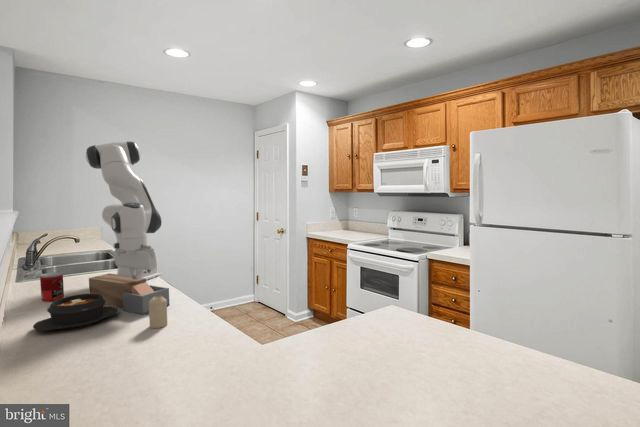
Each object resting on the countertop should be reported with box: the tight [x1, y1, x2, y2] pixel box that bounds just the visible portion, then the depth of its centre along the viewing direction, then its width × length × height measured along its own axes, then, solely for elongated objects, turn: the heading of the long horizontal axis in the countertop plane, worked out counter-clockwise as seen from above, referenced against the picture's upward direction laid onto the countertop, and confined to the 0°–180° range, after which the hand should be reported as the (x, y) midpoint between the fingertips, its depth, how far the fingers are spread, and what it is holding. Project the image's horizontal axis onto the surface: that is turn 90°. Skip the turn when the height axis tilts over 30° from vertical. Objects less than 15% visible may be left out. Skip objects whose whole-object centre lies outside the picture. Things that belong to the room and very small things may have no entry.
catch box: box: [123, 284, 170, 316], centre depth 143 cm, size 12×11×7 cm
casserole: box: [32, 293, 119, 332], centre depth 128 cm, size 25×19×8 cm
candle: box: [148, 296, 168, 329], centre depth 125 cm, size 6×6×10 cm
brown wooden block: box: [88, 273, 147, 310], centre depth 151 cm, size 9×23×10 cm, turn 64°
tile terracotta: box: [130, 281, 154, 295], centre depth 144 cm, size 6×6×2 cm
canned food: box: [39, 271, 65, 303], centre depth 156 cm, size 8×8×11 cm
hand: (136, 279), depth 145 cm, fingers closed
